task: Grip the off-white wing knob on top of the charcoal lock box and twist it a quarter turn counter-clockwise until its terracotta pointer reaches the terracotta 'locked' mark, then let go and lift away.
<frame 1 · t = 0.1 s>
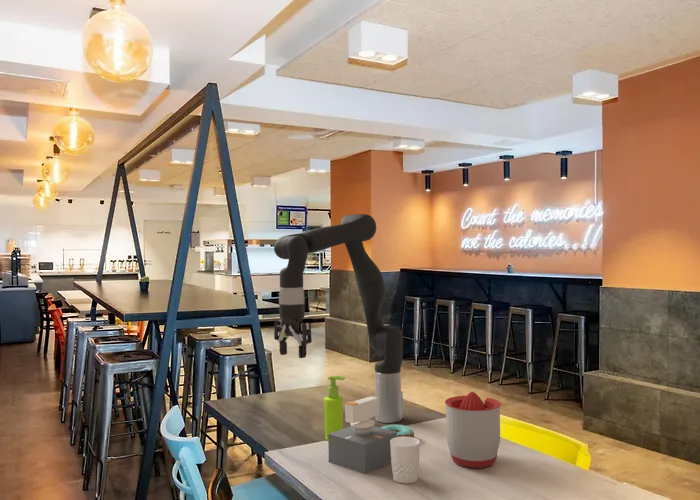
hand: (292, 356, 176), 29 cm above the table, fingers open, 8 cm apart
donut: (395, 441, 186), on the table
citrus juicer: (474, 461, 168), on the table
soap dispenser: (335, 438, 189), on the table
white cup: (405, 479, 155), on the table
wing knob: (362, 412, 169), point 14 cm above the table, hinge at 0.0°
lock box: (363, 460, 169), on the table
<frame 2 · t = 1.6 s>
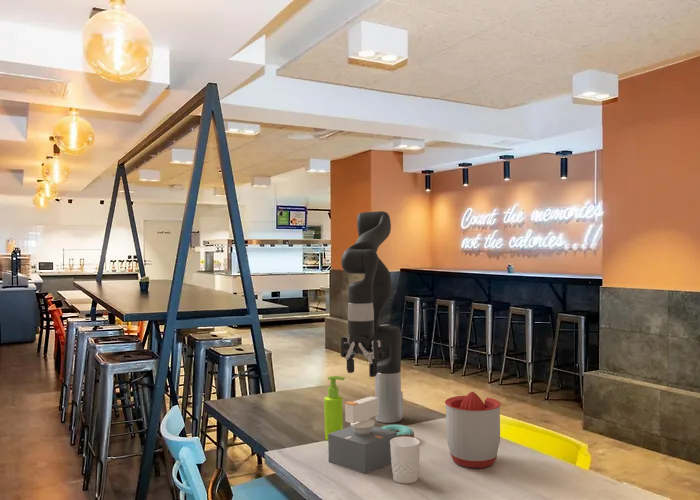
hand: (361, 374, 169), 25 cm above the table, fingers open, 8 cm apart
nothing on the table moved.
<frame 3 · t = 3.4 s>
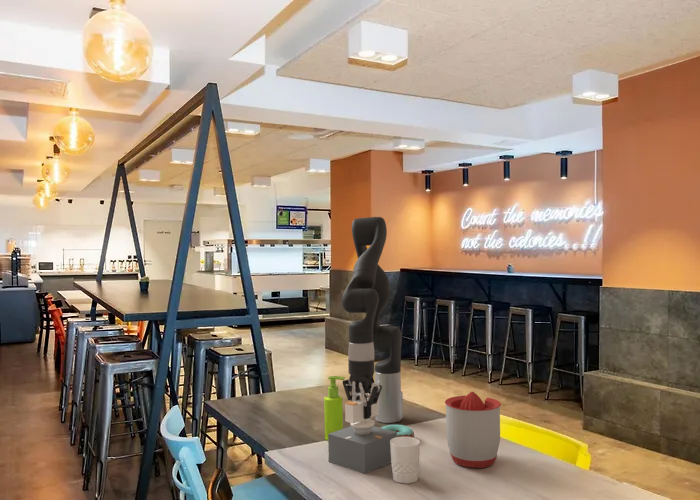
hand: (362, 416, 169), 13 cm above the table, fingers closed on wing knob, 3 cm apart
wing knob: (362, 412, 169), point 14 cm above the table, hinge at 0.0°, touching gripper
everything else where it was.
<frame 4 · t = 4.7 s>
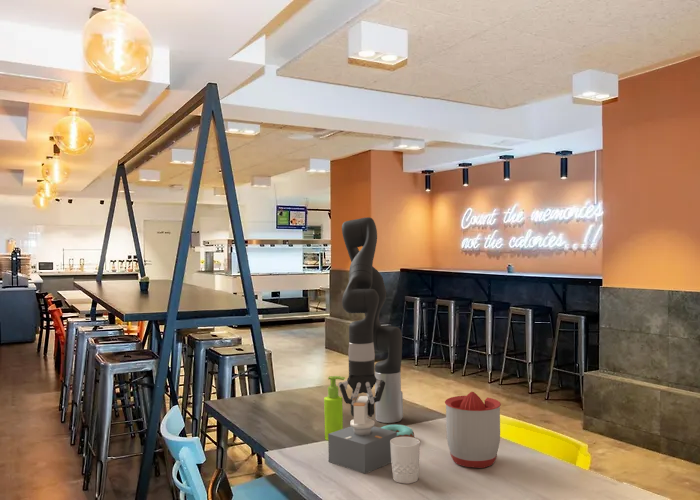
hand: (362, 416, 169), 13 cm above the table, fingers closed on wing knob, 4 cm apart
wing knob: (362, 412, 169), point 14 cm above the table, hinge at 32.8°, touching gripper
everything else where it was.
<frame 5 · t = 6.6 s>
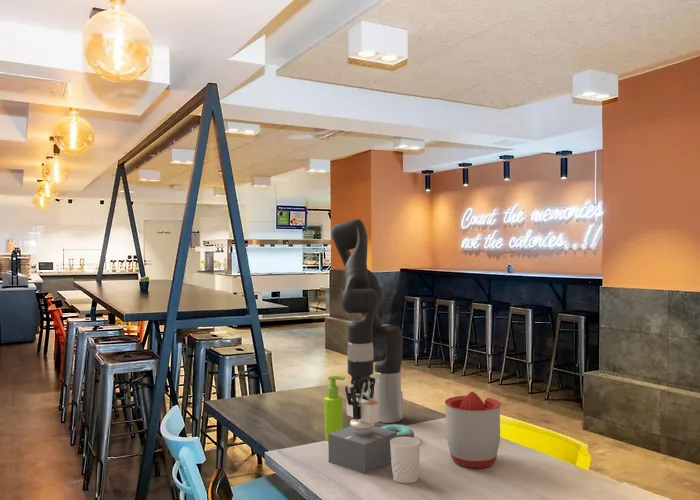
hand: (361, 416, 169), 13 cm above the table, fingers closed on wing knob, 4 cm apart
wing knob: (362, 412, 169), point 14 cm above the table, hinge at 80.2°, touching gripper
everything else where it was.
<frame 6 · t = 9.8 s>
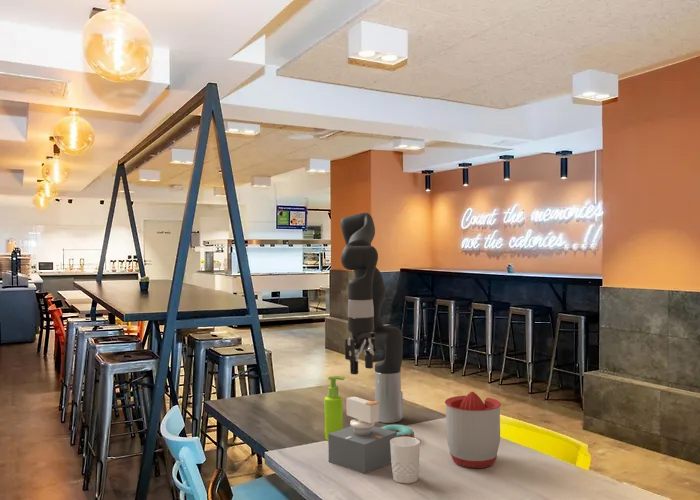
hand: (361, 371, 169), 26 cm above the table, fingers open, 8 cm apart
wing knob: (362, 412, 169), point 14 cm above the table, hinge at 80.9°
everything else where it was.
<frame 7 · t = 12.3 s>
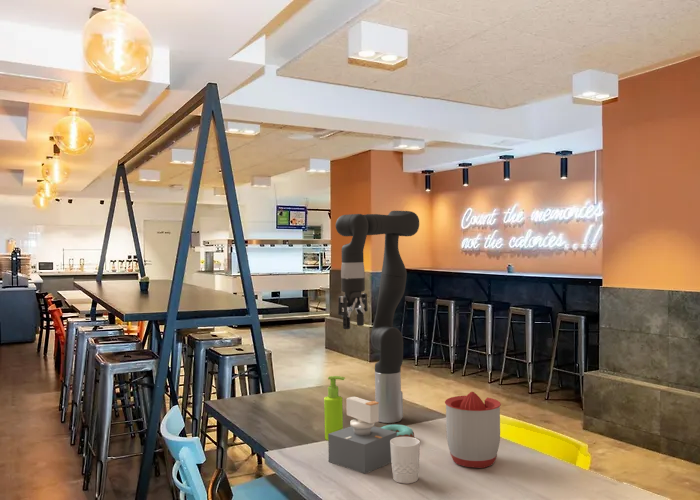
hand: (353, 327, 187), 36 cm above the table, fingers open, 8 cm apart
nothing on the table moved.
at the end: wing knob at +81° (first picture: +0°); the gripper is holding nothing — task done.
